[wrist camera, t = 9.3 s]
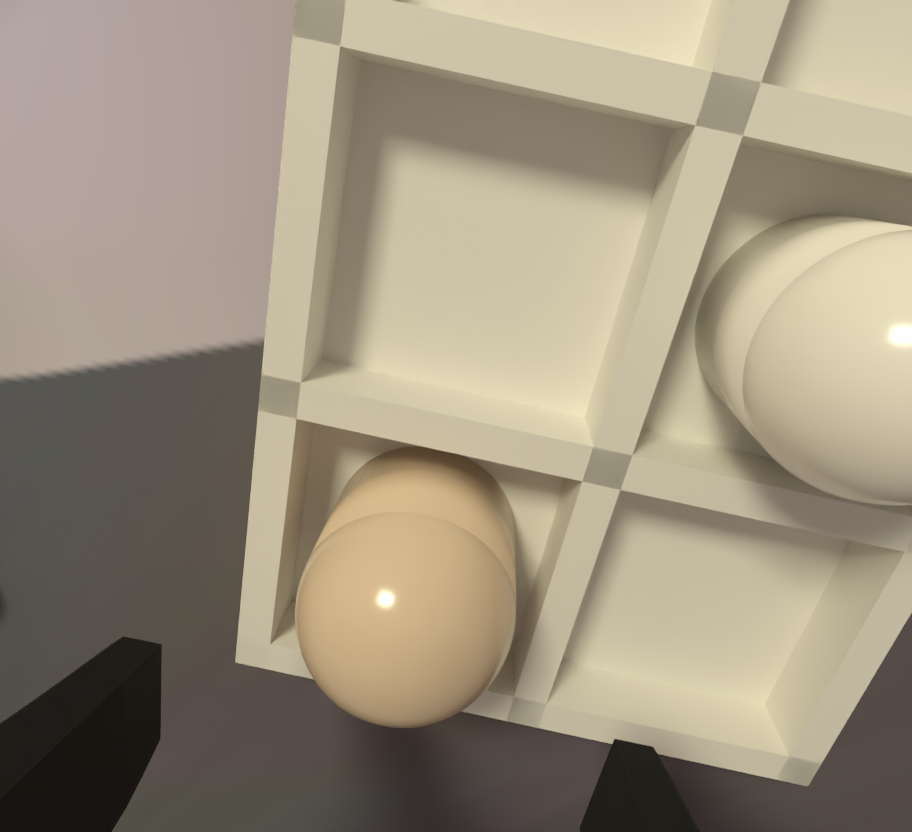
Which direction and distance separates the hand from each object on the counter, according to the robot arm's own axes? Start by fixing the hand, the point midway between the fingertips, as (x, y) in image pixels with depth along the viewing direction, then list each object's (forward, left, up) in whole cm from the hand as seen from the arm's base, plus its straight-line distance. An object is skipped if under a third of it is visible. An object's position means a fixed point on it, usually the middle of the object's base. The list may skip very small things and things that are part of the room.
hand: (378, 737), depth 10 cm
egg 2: (-7, -7, -6) cm, 11 cm away
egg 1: (0, 0, -6) cm, 6 cm away
